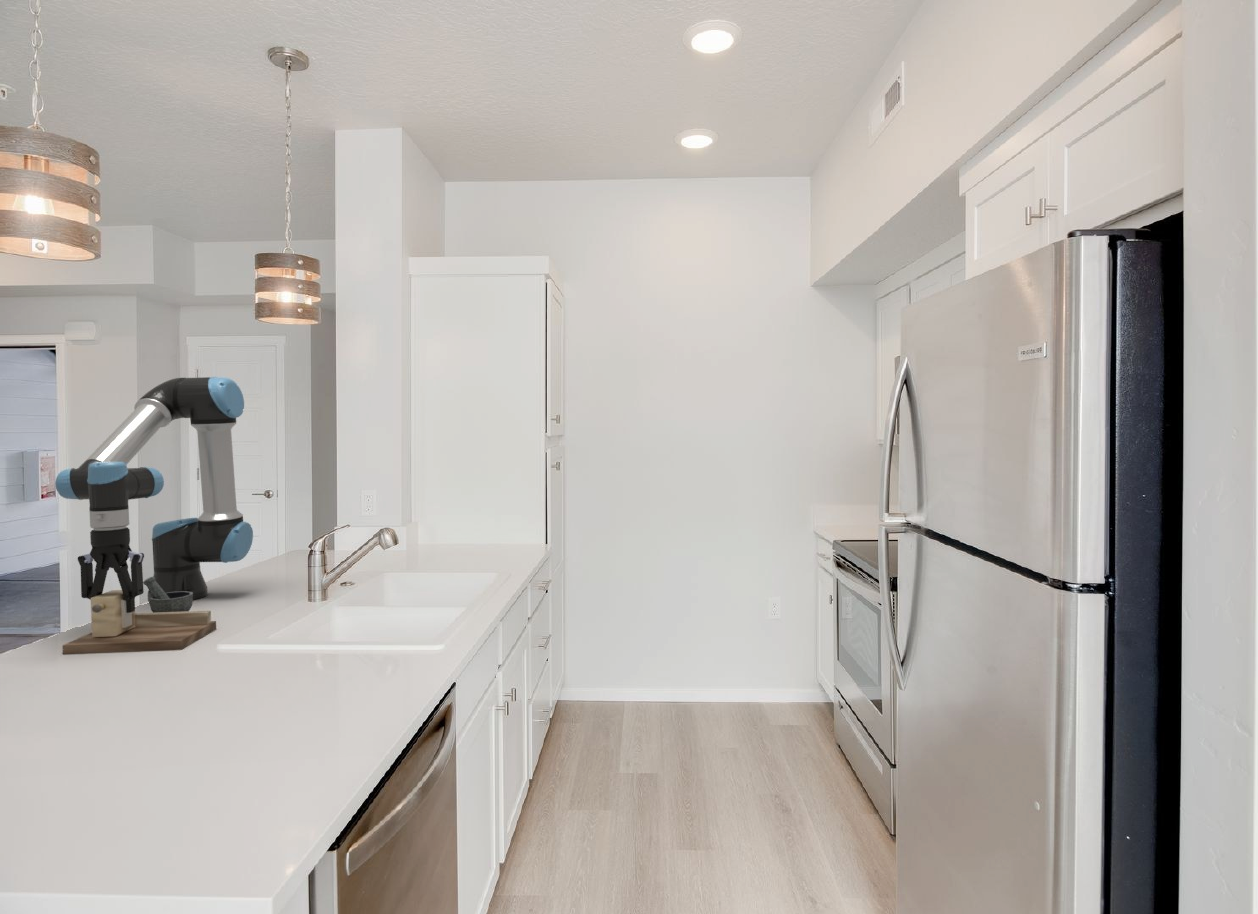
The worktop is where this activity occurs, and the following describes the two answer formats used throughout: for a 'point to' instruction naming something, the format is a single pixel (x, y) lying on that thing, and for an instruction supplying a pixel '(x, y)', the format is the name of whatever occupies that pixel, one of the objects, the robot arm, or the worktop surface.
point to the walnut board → (149, 634)
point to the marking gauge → (108, 614)
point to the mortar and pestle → (167, 598)
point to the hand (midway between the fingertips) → (114, 626)
